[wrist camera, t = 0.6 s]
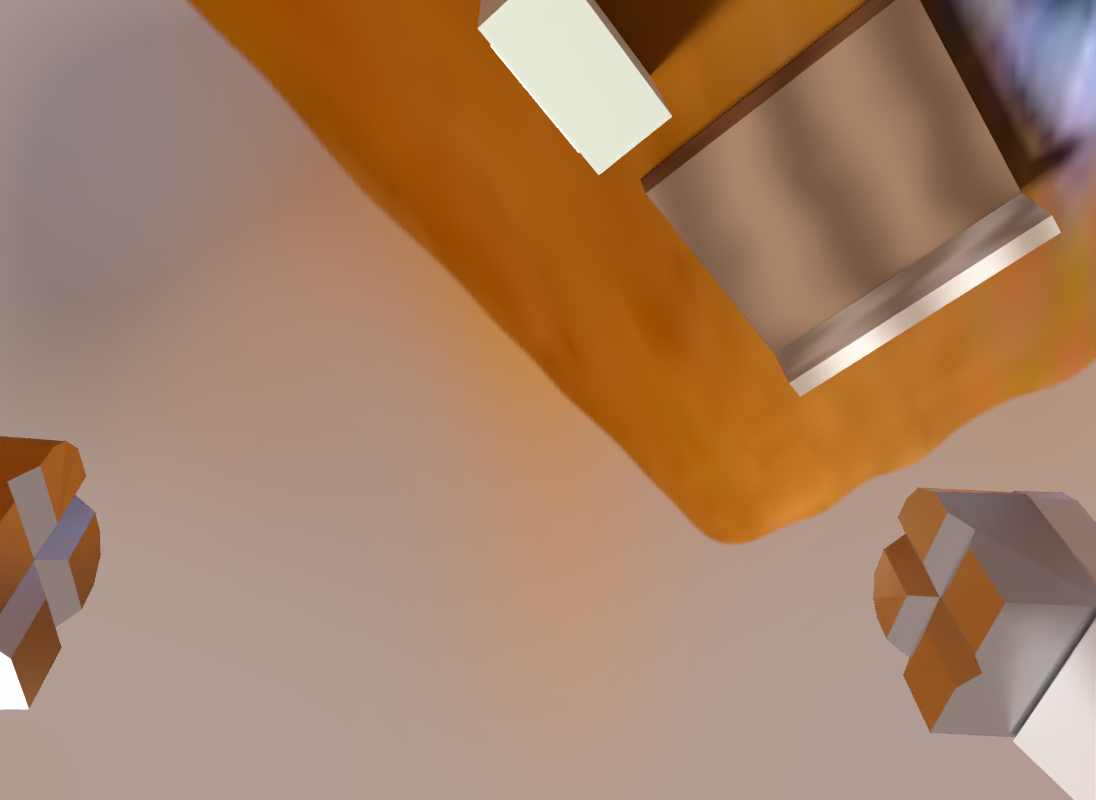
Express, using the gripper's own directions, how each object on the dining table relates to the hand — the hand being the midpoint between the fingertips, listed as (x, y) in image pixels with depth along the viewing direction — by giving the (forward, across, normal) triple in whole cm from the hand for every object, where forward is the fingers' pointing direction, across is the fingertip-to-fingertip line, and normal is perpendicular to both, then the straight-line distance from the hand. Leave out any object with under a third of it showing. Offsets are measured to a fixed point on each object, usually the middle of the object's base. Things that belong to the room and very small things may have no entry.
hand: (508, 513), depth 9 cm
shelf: (+38, -18, +9) cm, 43 cm away
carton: (+38, -3, +3) cm, 38 cm away
